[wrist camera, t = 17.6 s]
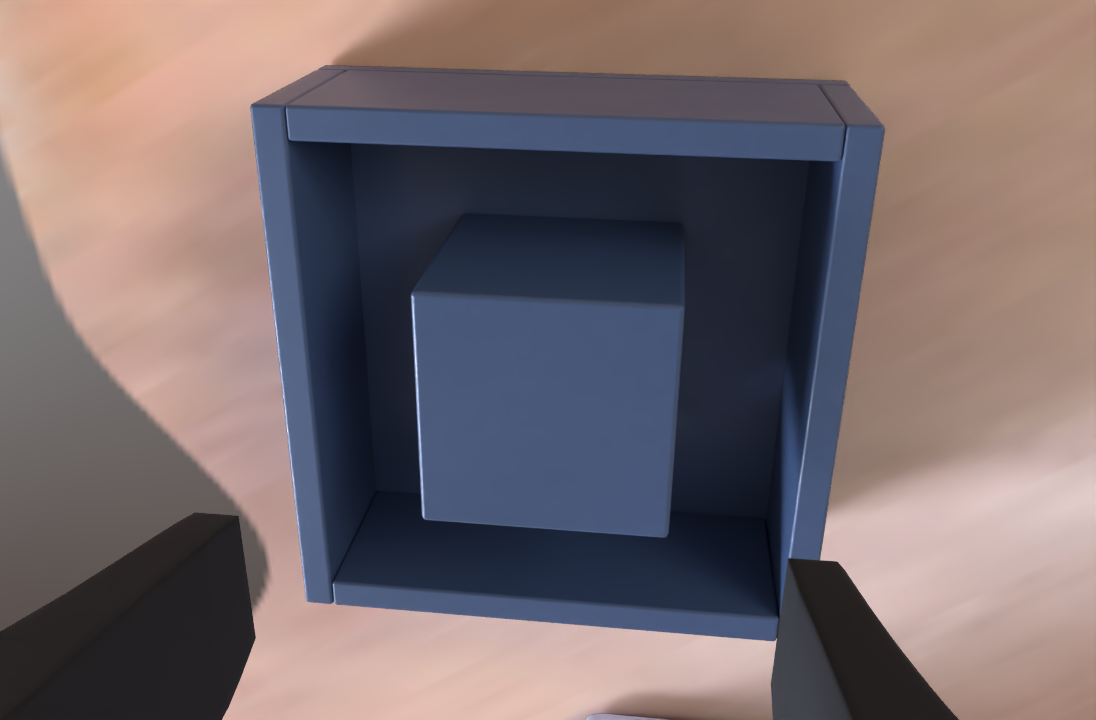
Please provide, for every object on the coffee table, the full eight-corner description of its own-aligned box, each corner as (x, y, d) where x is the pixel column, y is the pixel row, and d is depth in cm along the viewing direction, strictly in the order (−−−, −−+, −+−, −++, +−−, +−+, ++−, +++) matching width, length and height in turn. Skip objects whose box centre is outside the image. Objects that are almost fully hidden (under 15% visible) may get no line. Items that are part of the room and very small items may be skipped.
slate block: (466, 407, 23) (421, 521, 19) (461, 211, 21) (408, 291, 17) (669, 420, 22) (668, 540, 18) (684, 221, 20) (685, 306, 16)
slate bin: (359, 498, 25) (305, 603, 21) (324, 64, 20) (248, 103, 17) (788, 529, 24) (808, 645, 20) (847, 80, 19) (886, 126, 16)
